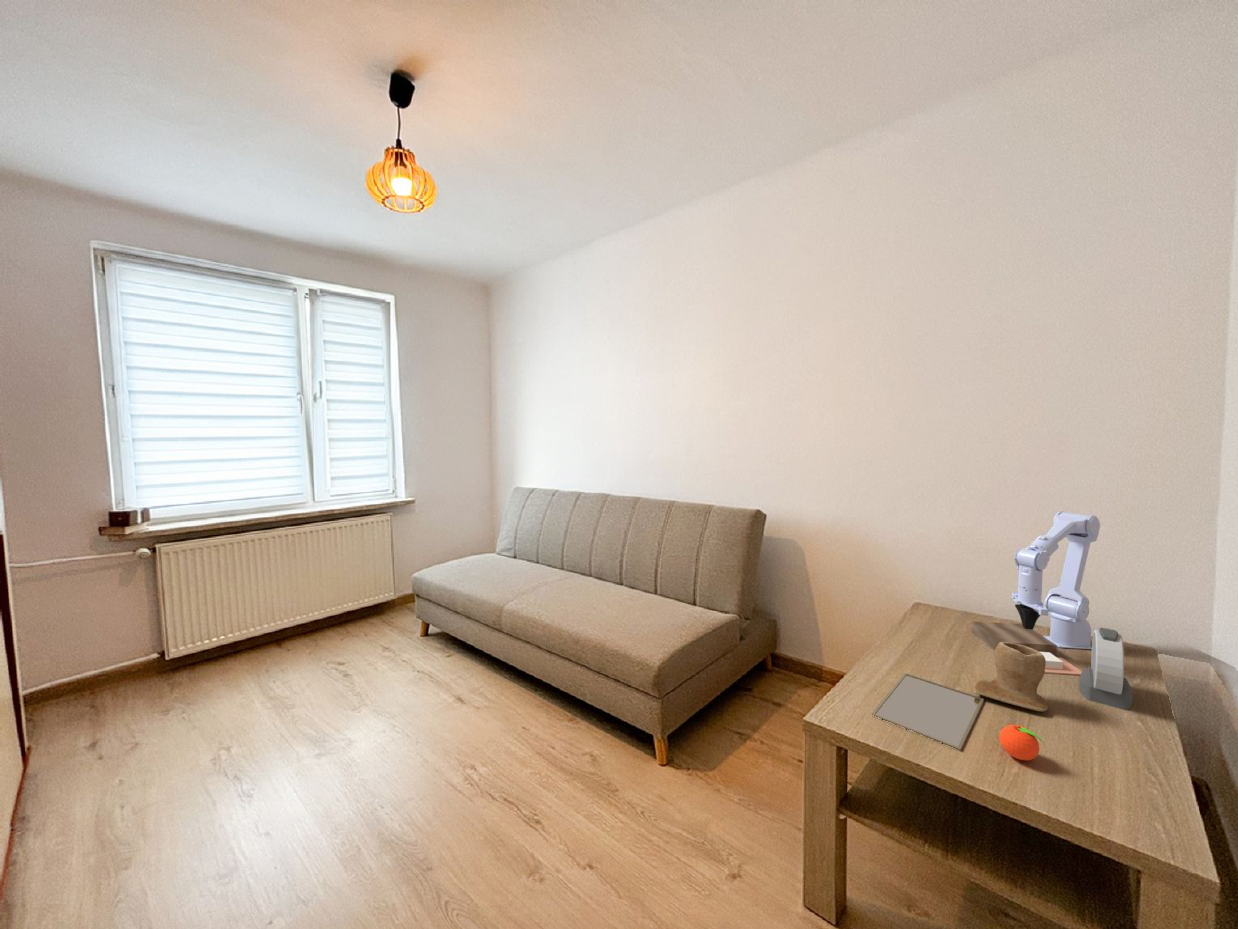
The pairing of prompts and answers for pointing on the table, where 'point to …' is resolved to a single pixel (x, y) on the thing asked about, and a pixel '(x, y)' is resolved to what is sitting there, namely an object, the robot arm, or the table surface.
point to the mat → (1065, 669)
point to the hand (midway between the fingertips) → (1028, 628)
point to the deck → (1011, 636)
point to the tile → (1052, 661)
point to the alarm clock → (1106, 672)
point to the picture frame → (930, 710)
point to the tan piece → (1016, 677)
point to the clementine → (1019, 742)
